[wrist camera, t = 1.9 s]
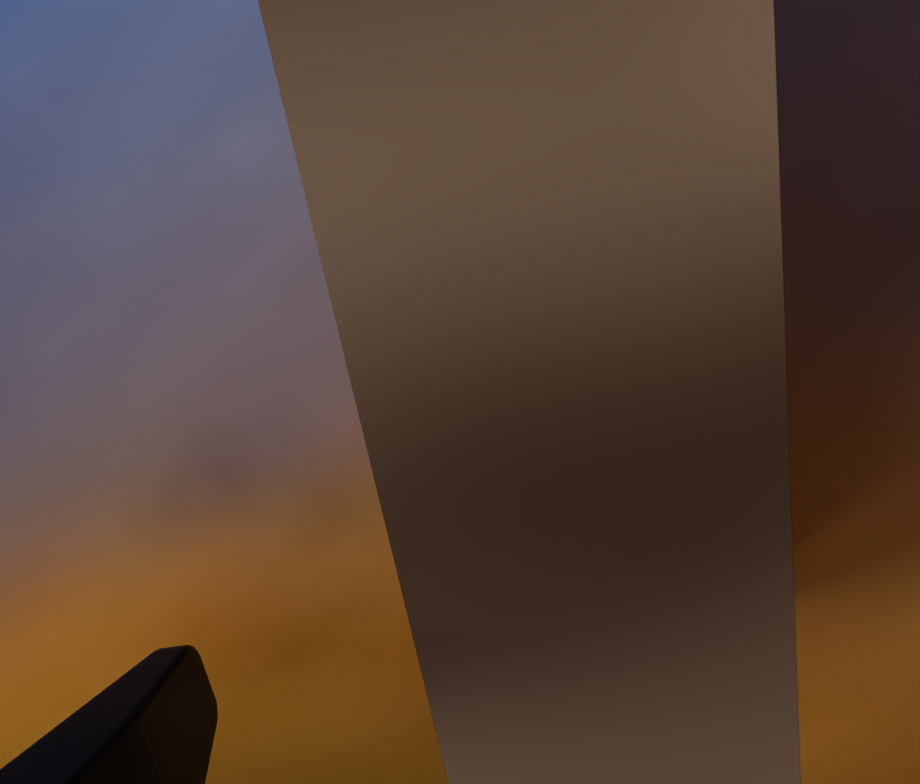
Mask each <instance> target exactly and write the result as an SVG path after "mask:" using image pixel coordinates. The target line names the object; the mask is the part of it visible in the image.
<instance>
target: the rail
mask: <svg viewBox="0 0 920 784" xmlns="http://www.w3.org/2000/svg"><path fill="white" fill-rule="evenodd" d="M258 2H259V7H260V11H261V15H262V19H263V23H264V27H265V31H266V35H267V39H268V44H269V48H270V52H271V56H272V60H273V64H274V68H275V72H276V76H277V81H278V85H279V89H280V93H281V97H282V101H283V105H284V109H285V113H286V118H287V122H288V126H289V130H290V134H291V138H292V142H293V146H294V150H295V154H296V159H297V163H298V167H299V171H300V175H301V179H302V183H303V187H304V191H305V196H306V200H307V204H308V208H309V212H310V216H311V220H312V224H313V228H314V233H315V237H316V241H317V245H318V249H319V253H320V257H321V261H322V265H323V270H324V274H325V278H326V282H327V286H328V290H329V294H330V298H331V302H332V307H333V311H334V315H335V319H336V323H337V327H338V331H339V335H340V339H341V344H342V348H343V352H344V356H345V360H346V364H347V368H348V372H349V376H350V381H351V385H352V389H353V393H354V397H355V401H356V405H357V409H358V413H359V418H360V422H361V426H362V430H363V434H364V438H365V442H366V446H367V450H368V455H369V459H370V463H371V467H372V471H373V475H374V479H375V483H376V487H377V492H378V496H379V500H380V504H381V508H382V512H383V516H384V520H385V524H386V529H387V533H388V537H389V541H390V545H391V549H392V553H393V557H394V561H395V566H396V570H397V574H398V578H399V582H400V586H401V590H402V594H403V598H404V603H405V607H406V611H407V615H408V619H409V623H410V627H411V631H412V635H413V640H414V644H415V648H416V652H417V656H418V660H419V664H420V668H421V672H422V676H423V681H424V685H425V689H426V693H427V697H428V701H429V705H430V709H431V713H432V718H433V722H434V726H435V730H436V734H437V738H438V742H439V746H440V750H441V755H442V759H443V763H444V767H445V771H446V775H447V779H448V783H449V784H801V776H800V748H799V719H798V690H797V661H796V632H795V604H794V575H793V546H792V517H791V488H790V459H789V431H788V402H787V373H786V344H785V315H784V287H783V258H782V229H781V200H780V171H779V143H778V114H777V85H776V56H775V27H774V0H258Z"/></svg>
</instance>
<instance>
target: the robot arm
mask: <svg viewBox="0 0 920 784" xmlns="http://www.w3.org/2000/svg"><path fill="white" fill-rule="evenodd" d="M217 716H218V712H217V703H216V699H215V696H214V693H213V690H212V687H211V685H210V682H209V679H208V676H207V674H206V671H205V668H204V665H203V662H202V660H201V657H200V655H199V653H198V651H197V650H196V649H195V648H194V647H193V646H190V645H183V646H175V647H168V648H161V649H158V650H156V651H154V652H153V653H151V654H150V655H149V656H148V657H146V658H145V659H144V660H142V661H141V662H140V663H138V664H137V665H136V666H135V667H133V668H132V669H131V670H129V671H128V672H127V673H125V674H124V675H123V676H122V677H120V678H119V679H118V680H116V681H115V682H114V683H112V684H111V685H110V686H108V687H107V688H106V689H105V690H103V691H102V692H101V693H99V694H98V695H97V696H95V697H94V698H93V699H92V700H90V701H89V702H88V703H86V704H85V705H84V706H82V707H81V708H80V709H79V710H77V711H76V712H75V713H73V714H72V715H71V716H69V717H68V718H67V719H66V720H64V721H63V722H62V723H60V724H59V725H58V726H56V727H55V728H54V729H52V730H51V731H50V732H49V733H47V734H46V735H45V736H43V737H42V738H41V739H39V740H38V741H37V742H36V743H34V744H33V745H32V746H30V747H29V748H28V749H26V750H25V751H24V752H23V753H21V754H20V755H19V756H17V757H16V758H15V759H13V760H12V761H11V762H9V763H8V764H7V765H6V766H4V767H3V768H2V769H0V784H205V781H206V776H207V771H208V766H209V760H210V755H211V750H212V745H213V740H214V735H215V730H216V725H217Z"/></svg>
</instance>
